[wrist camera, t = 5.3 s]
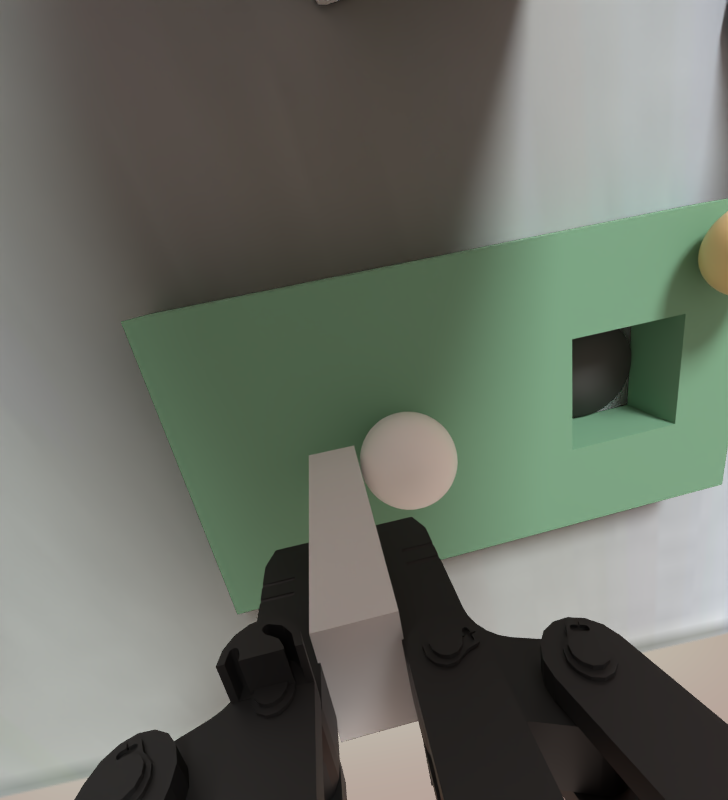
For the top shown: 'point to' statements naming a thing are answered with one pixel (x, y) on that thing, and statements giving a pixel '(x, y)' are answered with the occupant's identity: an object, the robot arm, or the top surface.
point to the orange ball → (715, 255)
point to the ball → (408, 460)
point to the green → (454, 385)
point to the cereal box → (325, 2)
